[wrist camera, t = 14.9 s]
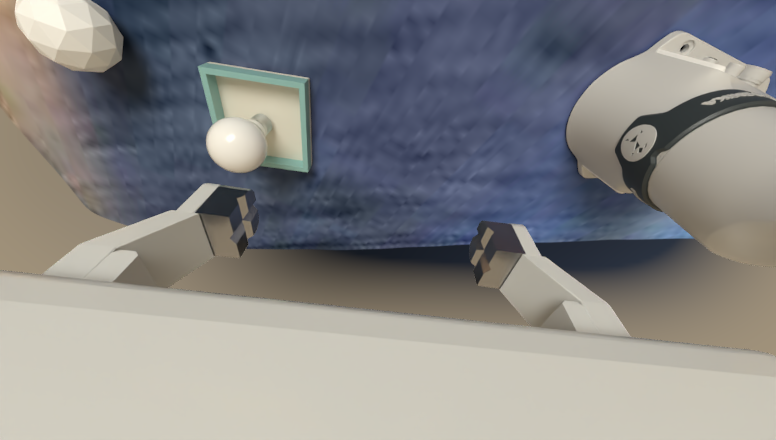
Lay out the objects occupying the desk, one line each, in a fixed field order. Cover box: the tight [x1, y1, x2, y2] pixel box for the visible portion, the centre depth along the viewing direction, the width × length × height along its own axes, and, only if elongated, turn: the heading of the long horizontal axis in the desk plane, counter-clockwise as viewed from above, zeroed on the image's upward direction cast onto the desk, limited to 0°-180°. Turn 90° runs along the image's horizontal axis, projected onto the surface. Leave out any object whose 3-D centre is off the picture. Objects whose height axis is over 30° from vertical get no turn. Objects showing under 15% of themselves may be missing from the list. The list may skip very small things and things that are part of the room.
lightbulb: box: [206, 114, 272, 173], centre depth 35 cm, size 6×6×11 cm
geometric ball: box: [15, 0, 123, 72], centre depth 30 cm, size 8×8×8 cm
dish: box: [198, 62, 312, 172], centre depth 39 cm, size 12×12×3 cm
